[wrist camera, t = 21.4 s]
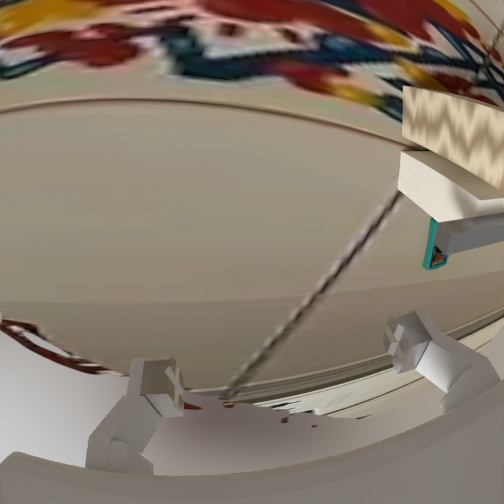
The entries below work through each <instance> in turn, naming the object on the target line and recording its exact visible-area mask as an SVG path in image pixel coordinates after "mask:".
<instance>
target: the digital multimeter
mask: <svg viewBox="0 0 504 504" xmlns="http://www.w3.org/2000/svg"><path fill="white" fill-rule="evenodd" d="M437 224H438V222H437V221H436V220H435V219H434V218H432V219H431V222H430V231H429V238H428V244H427V249H426V254H425V258H424V262H423V267H424V268H425V269H426V270H433V269H437V268H439V267H441V266H443V265H445V264H446V263H447V259H448V255H445V254H444V253H443V252H442V251H441V250H440V249H439V248H438V247H437V246H436V245H435V244H434V243H433V241H434V237H435V233H436V229H437Z"/></svg>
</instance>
